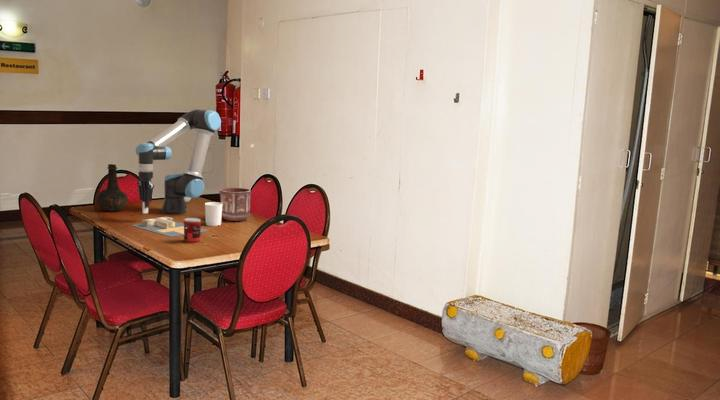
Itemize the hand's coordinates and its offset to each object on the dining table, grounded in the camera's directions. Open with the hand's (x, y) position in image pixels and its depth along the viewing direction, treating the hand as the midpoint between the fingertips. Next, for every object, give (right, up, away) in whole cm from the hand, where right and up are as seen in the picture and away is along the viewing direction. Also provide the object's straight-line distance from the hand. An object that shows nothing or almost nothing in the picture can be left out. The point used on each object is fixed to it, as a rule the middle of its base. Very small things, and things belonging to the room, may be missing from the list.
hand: (145, 213), depth 342 cm
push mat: (+18, -8, -13) cm, 23 cm away
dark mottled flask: (-30, +1, +28) cm, 40 cm away
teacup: (+2, +6, +69) cm, 69 cm away
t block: (+13, -7, -9) cm, 17 cm away
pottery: (+46, -5, +18) cm, 50 cm away
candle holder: (+38, -7, +2) cm, 38 cm away
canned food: (+37, -13, -39) cm, 55 cm away
